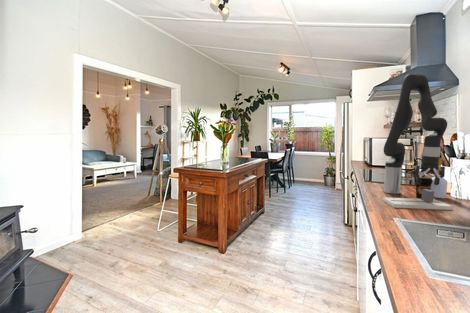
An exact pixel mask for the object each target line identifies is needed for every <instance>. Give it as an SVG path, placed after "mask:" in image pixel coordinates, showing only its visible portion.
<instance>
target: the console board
mask: <svg viewBox="0 0 470 313" xmlns="http://www.w3.org/2000/svg"><path fill="white" fill-rule="evenodd" d="M382 202H384V203H385V204H387V205H389V206H390V207H392V208H395V209H396V208H397V209H419V210H420V209H421V210H422V209H423V210H445V211H446V210H447V211H451V210H452V205H450V204H448V203H445V202H443V201H441V200H437V199H436V198H433V202H425V201H423V200H421V199H418V198H412V197H409V198H407V197H405V198H404V197H385V196H384V197H382Z"/></svg>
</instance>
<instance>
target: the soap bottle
mask: <svg viewBox="0 0 470 313" xmlns="http://www.w3.org/2000/svg"><path fill="white" fill-rule="evenodd" d="M444 160H446V157H440V159H439V164H438V166H443V161H444ZM437 172H438V173H439V169H438V170H437ZM431 178H432V180H433V181H432V183H431V191H434V197H433V199H446V198H447V191H448V190H447V189H448V180H447V179H446V178H445V177H442V178H440V181H439V184H438V185H434V180H435V178H436V177H435V176H433V177H431Z"/></svg>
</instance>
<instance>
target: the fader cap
mask: <svg viewBox="0 0 470 313" xmlns="http://www.w3.org/2000/svg"><path fill="white" fill-rule="evenodd" d="M433 197H434V191H431V190H428V189H422V196H421V200H423V201H425V202H433V199H434V198H433Z"/></svg>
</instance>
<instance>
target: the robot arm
mask: <svg viewBox="0 0 470 313" xmlns="http://www.w3.org/2000/svg"><path fill="white" fill-rule="evenodd" d="M411 91H412V92H413V91H415V92H418V93H419V95H420V96H419V99H418V101H417V108H418V110H419V113H420V115H421V128H422V129H423V130H424V131H427V132H433V133H432V134H430V135H426V136H425V137H424V139H423V148H422V153H421V165H416V164H415V165H414V166H413V167H414V168H413V172H412V173H413V175H412V176H414V177H416V179H417V184H419V185H421V180H422V178H421V177H424V176H425V175H429V174H430V175H433V177H436V178H435V180H434V185H438V184H439V181H440V178H445V176H446V175H445V174H446V172H445V170H446V167H445V166H443V165H442V166H438V164H439V159H440V158H441V157H440V156H441V143H442V138H443V136H444V134H445V132H446V131H447V128H448V121H447V120H446V118H443V117H435V116H437V114H438V110H437V107H436V105H435V104H434V101H433V99H432V95H431V90H430V85H429V80H428V78H427V76H426V75H424V74H415V73H413V74H412V73H409V74H408V73H407V75H405V77H404V78H403V80H402V84H401V88H400V92H399V99H398V102H397V107H396V110H395V112H394V116H393V121H392V124H391V127H390V131H389V132H388V136H387V138H386V141H385V143H384V146H383V154H384V155H385V156H386V157H390V159H389V160H387V161H386V162H385V166H384V177H383V193H387V194H392V195H393V194H394V195H395V194H396V195H399V194H400V192H401V183H402V168H403V164H404V161H405V155H406V146H405V145H404V143H402V142H399V139H400V138H401V136H402V134H403V133H404V132H405V131H406V130H407V129H408V128H409V126H410V125H411V122H412V118H413V114H414V111H413V107H412V104H411V100H410V99H411V98H410V96H411ZM438 169H439V173H438V172H437V170H438Z"/></svg>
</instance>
